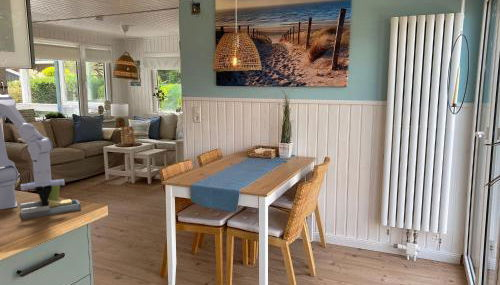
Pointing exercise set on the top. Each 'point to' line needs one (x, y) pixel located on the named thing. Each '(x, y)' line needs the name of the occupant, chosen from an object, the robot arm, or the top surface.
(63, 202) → the brass chip
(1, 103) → the robot arm
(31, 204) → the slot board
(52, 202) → the brass chip
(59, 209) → the tray
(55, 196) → the plant pot
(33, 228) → the top surface
